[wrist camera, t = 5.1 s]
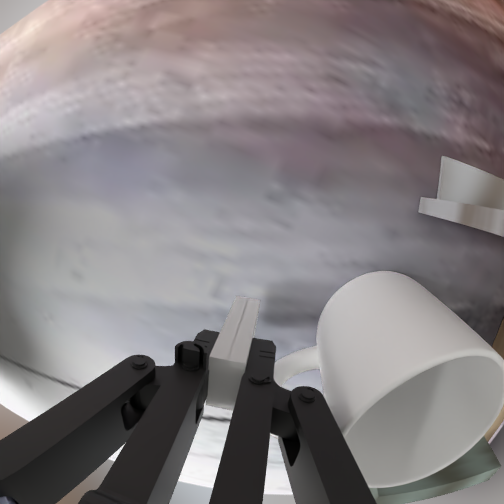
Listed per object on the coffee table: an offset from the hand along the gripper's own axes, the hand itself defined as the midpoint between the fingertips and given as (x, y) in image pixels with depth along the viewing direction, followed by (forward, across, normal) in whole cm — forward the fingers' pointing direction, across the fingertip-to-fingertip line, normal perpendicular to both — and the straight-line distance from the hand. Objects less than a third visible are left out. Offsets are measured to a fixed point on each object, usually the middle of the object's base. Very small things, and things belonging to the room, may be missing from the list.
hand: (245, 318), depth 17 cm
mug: (+2, +7, -1) cm, 7 cm away
